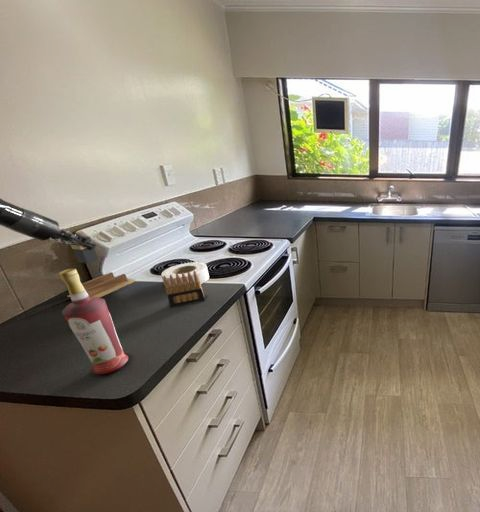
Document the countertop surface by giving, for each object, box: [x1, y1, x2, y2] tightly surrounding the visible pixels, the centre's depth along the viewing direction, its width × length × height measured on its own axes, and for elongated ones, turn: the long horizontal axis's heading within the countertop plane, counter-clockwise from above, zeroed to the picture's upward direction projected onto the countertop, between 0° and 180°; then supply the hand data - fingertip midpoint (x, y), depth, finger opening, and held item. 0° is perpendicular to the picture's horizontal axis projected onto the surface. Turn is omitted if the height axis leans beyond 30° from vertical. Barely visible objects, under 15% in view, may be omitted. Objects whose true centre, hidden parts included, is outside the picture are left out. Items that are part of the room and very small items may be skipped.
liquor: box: [58, 268, 129, 375], centre depth 69 cm, size 7×7×28 cm
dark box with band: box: [70, 235, 100, 264], centre depth 106 cm, size 4×4×9 cm
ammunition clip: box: [162, 271, 206, 308], centre depth 102 cm, size 11×2×12 cm, turn 117°
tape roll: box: [160, 261, 210, 290], centre depth 118 cm, size 16×16×6 cm
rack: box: [66, 271, 135, 300], centre depth 112 cm, size 11×16×4 cm
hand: (89, 246), depth 107 cm, fingers closed on dark box with band, 4 cm apart
